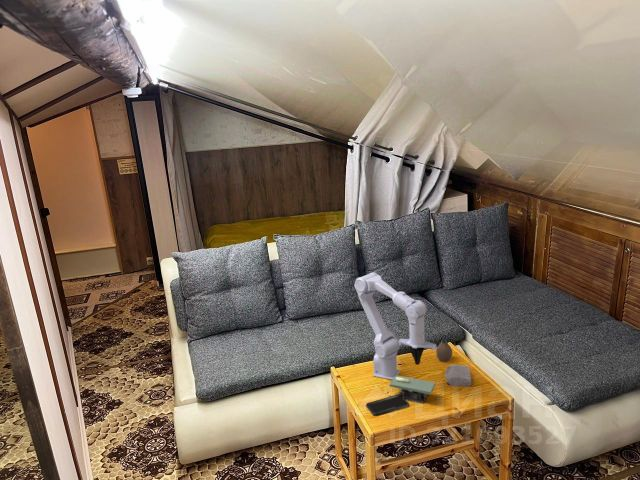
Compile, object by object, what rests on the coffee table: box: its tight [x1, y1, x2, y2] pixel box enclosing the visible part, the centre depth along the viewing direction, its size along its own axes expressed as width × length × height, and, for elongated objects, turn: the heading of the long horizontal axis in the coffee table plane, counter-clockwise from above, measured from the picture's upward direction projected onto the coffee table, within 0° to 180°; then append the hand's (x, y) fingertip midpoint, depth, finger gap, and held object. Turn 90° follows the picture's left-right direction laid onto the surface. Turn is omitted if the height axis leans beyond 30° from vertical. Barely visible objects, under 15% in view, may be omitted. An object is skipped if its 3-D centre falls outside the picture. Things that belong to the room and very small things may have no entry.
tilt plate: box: [389, 375, 436, 395], centre depth 178 cm, size 16×7×3 cm, turn 62°
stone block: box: [444, 364, 472, 387], centre depth 189 cm, size 12×5×10 cm
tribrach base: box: [397, 389, 428, 404], centre depth 178 cm, size 10×7×3 cm
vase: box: [435, 340, 453, 363], centre depth 203 cm, size 7×7×9 cm
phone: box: [365, 393, 410, 417], centre depth 174 cm, size 8×1×15 cm
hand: (417, 363), depth 182 cm, fingers closed
